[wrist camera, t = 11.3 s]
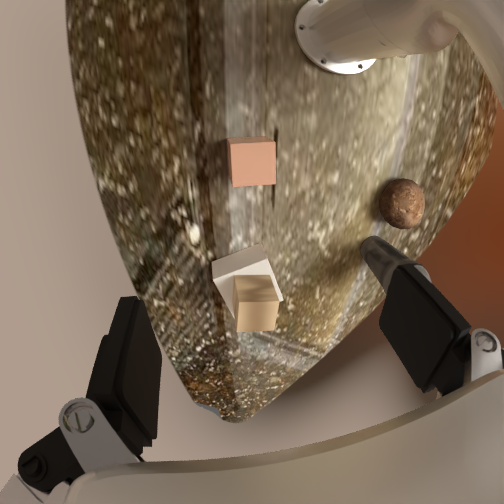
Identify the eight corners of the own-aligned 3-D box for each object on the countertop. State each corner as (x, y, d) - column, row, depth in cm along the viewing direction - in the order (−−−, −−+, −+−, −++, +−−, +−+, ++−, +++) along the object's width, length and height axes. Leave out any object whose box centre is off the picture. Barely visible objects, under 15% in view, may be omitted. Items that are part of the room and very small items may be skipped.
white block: (260, 241, 43) (267, 258, 39) (276, 281, 47) (283, 300, 43) (211, 261, 44) (212, 279, 39) (231, 298, 48) (234, 318, 43)
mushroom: (428, 219, 42) (435, 222, 36) (387, 232, 46) (388, 237, 40) (413, 174, 42) (418, 171, 36) (372, 188, 45) (371, 187, 40)
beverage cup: (348, 265, 48) (408, 347, 30) (360, 226, 44) (434, 301, 27) (381, 265, 49) (444, 339, 32) (393, 230, 46) (468, 297, 28)
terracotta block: (265, 136, 36) (275, 141, 30) (265, 172, 38) (275, 183, 33) (226, 138, 35) (230, 144, 30) (229, 174, 37) (232, 187, 32)
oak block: (269, 274, 40) (279, 301, 35) (265, 302, 43) (274, 330, 37) (234, 275, 39) (239, 302, 34) (232, 303, 42) (236, 332, 37)
